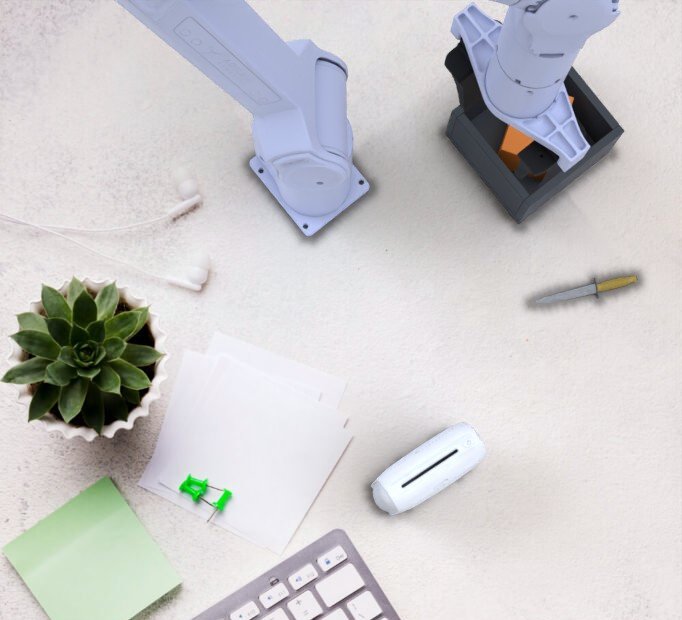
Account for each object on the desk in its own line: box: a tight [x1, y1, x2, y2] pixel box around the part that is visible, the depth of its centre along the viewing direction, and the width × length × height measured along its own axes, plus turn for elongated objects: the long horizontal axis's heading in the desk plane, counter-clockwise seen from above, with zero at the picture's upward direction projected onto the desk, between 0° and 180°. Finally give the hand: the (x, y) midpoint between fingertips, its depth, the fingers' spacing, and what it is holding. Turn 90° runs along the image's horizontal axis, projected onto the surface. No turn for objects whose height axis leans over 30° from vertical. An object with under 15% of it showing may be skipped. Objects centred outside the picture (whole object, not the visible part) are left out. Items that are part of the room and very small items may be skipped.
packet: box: [497, 96, 574, 181], centre depth 82 cm, size 5×7×4 cm
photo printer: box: [370, 421, 487, 516], centre depth 78 cm, size 10×4×12 cm, turn 123°
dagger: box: [535, 274, 638, 304], centre depth 84 cm, size 11×1×2 cm
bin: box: [445, 65, 625, 225], centre depth 82 cm, size 12×12×5 cm
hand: (498, 136), depth 75 cm, fingers open, 7 cm apart
